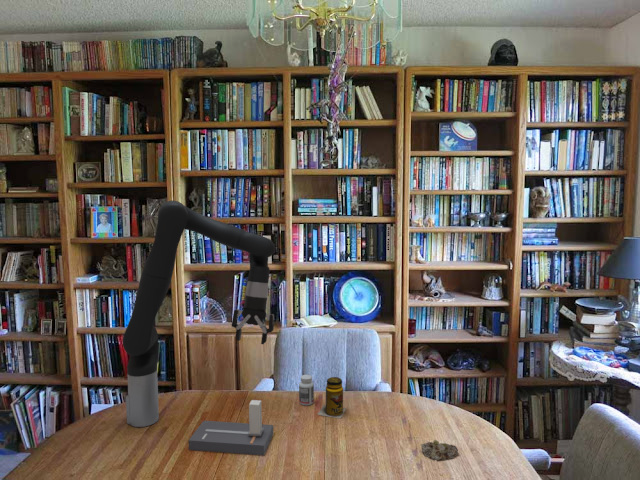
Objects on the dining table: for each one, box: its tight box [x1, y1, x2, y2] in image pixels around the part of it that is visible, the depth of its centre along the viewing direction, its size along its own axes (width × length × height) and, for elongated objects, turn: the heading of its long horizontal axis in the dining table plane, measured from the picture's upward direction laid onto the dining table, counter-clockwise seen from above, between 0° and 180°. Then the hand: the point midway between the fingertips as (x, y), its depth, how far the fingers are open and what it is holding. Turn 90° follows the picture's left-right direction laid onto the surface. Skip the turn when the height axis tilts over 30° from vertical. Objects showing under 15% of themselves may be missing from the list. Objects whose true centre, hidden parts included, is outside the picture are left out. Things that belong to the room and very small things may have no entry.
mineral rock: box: [420, 439, 459, 461], centre depth 136 cm, size 11×4×8 cm
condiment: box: [317, 376, 347, 419], centre depth 161 cm, size 7×8×12 cm
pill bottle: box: [298, 374, 315, 406], centre depth 169 cm, size 5×5×10 cm
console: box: [188, 420, 274, 456], centre depth 143 cm, size 23×12×3 cm, turn 83°
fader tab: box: [248, 399, 264, 436], centre depth 141 cm, size 4×4×10 cm
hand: (250, 342), depth 159 cm, fingers open, 8 cm apart
